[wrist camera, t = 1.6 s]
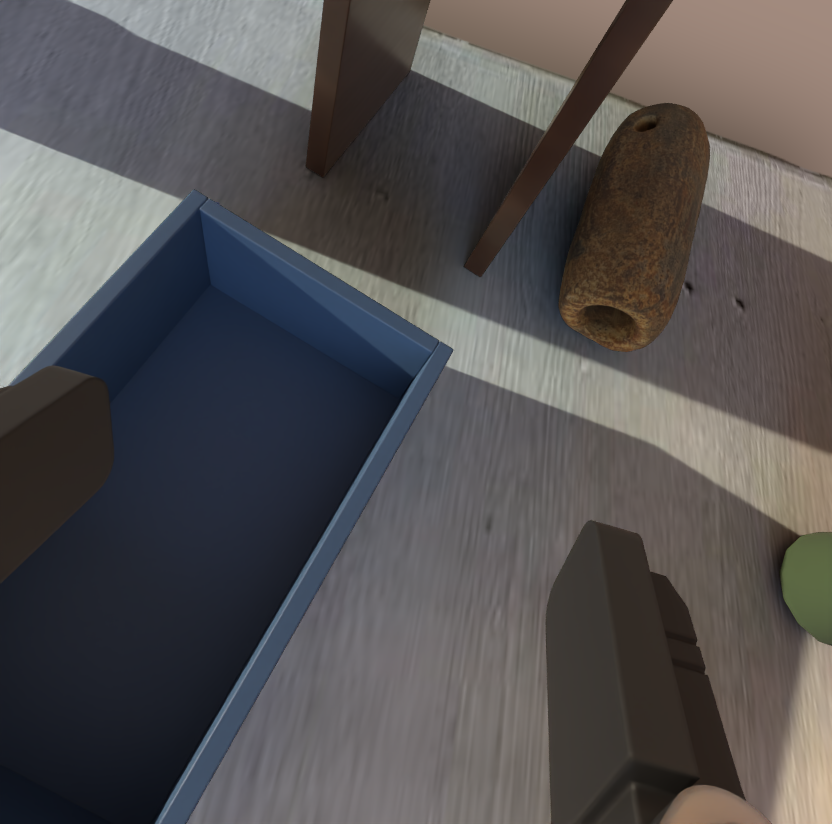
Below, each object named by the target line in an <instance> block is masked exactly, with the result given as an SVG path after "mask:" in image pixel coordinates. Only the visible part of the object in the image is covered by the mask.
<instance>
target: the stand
mask: <svg viewBox="0 0 832 824" xmlns="http://www.w3.org/2000/svg"><path fill="white" fill-rule="evenodd" d="M672 1H673V0H626V1H625V3H624V5H623V6H622V8H621V9H620V11H619V13H618V14H617V16H616V17H615V19H614V21H613V22H612V24H611V26H610V27H609V29H608V30H607V32H606V34H605V35H604V37H603V39H602V40H601V42H600V43H599V45H598V47H597V48H596V50H595V52H594V53H593V55H592V56H591V58H590V60H589V61H588V63H587V65H586V66H585V68H584V69H583V71H582V73H581V74H580V76H579V78H578V79H577V81H576V82H575V84H574V86H573V87H572V89H571V91H570V92H569V94H568V95H567V97H566V99H565V100H564V102H563V104H562V105H561V107H560V108H559V110H558V112H557V113H556V115H555V117H554V118H553V120H552V121H551V123H550V125H549V126H548V128H547V130H546V131H545V133H544V134H543V136H542V138H541V139H540V141H539V143H538V144H537V146H536V147H535V149H534V151H533V152H532V154H531V156H530V157H529V159H528V161H527V162H526V164H525V166H524V167H523V169H522V171H521V172H520V174H519V176H518V177H517V179H516V180H515V182H514V184H513V185H512V187H511V189H510V190H509V192H508V194H507V195H506V197H505V199H504V200H503V202H502V204H501V205H500V207H499V209H498V210H497V212H496V214H495V215H494V217H493V219H492V220H491V222H490V224H489V225H488V227H487V229H486V230H485V232H484V234H483V235H482V237H481V239H480V240H479V242H478V244H477V245H476V247H475V249H474V250H473V252H472V254H471V255H470V257H469V258H468V260H467V262H466V263H465V265H464V267H465V268H466V269H468V270H470V271H471V272H473V273H474V274H476V275H477V276H479V277H481V276H482V275H483V273H484V272H485V271H486V269H487V268H488V266H489V265H490V263H491V262H492V260H493V259H494V258H495V256H496V255H497V253H498V252H499V250H500V249H501V247H502V246H503V245H504V243H505V242H506V240H507V239H508V237H509V236H510V235H511V233H512V232H513V230H514V229H515V227H516V226H517V224H518V223H519V222H520V220H521V219H522V217H523V216H524V214H525V213H526V211H527V210H528V209H529V207H530V206H531V204H532V203H533V201H534V200H535V199H536V197H537V196H538V194H539V193H540V191H541V190H542V188H543V187H544V186H545V184H546V183H547V181H548V180H549V178H550V177H551V175H552V174H553V173H554V171H555V170H556V168H557V167H558V165H559V164H560V163H561V161H562V160H563V158H564V157H565V155H566V154H567V152H568V151H569V150H570V148H571V147H572V145H573V144H574V142H575V141H576V139H577V138H578V137H579V135H580V134H581V132H582V131H583V129H584V128H585V127H586V125H587V124H588V122H589V121H590V119H591V118H592V116H593V115H594V114H595V112H596V111H597V109H598V108H599V106H600V105H601V103H602V102H603V101H604V99H605V98H606V96H607V95H608V93H609V92H610V90H611V89H612V87H613V86H614V85H615V83H616V82H617V80H618V79H619V78H620V76H621V75H622V73H623V72H624V70H625V69H626V67H627V66H628V65H629V63H630V62H631V60H632V59H633V57H634V56H635V54H636V53H637V52H638V50H639V49H640V47H641V46H642V44H643V43H644V41H645V40H646V39H647V37H648V36H649V34H650V33H651V31H652V30H653V29H654V27H655V26H656V24H657V23H658V21H659V20H660V18H661V17H662V16H663V14H664V13H665V11H666V10H667V8H668V7H669V5H670V4H671V2H672ZM429 3H430V0H324V3H323V12H322V22H321V31H320V40H319V49H318V58H317V67H316V77H315V86H314V95H313V104H312V113H311V122H310V131H309V141H308V150H307V159H306V167H307V168H308V169H310V170H311V171H313V172H315V173H316V174H318V175H319V176H321V177H324V176H325V175H326V174H327V172H328V171H329V170H330V169H331V168H332V166H333V165H334V164H335V163H336V161H337V160H338V159H339V158H340V157H341V155H342V154H343V153H344V152H345V150H346V149H347V148H348V147H349V145H350V144H351V143H352V142H353V141H354V139H355V138H356V137H357V136H358V134H359V133H360V132H361V131H362V130H363V128H364V127H365V126H366V125H367V123H368V122H369V121H370V120H371V118H372V117H373V116H374V115H375V114H376V112H377V111H378V110H379V109H380V107H381V106H382V105H383V104H384V103H385V101H386V100H387V99H388V98H389V96H390V95H391V94H392V93H393V91H394V90H395V89H396V88H397V87H398V85H399V84H400V83H401V82H402V80H403V79H404V78H405V77H406V76H407V74H408V73H409V72H410V69H411V66H412V62H413V59H414V55H415V52H416V48H417V45H418V41H419V38H420V34H421V31H422V27H423V24H424V20H425V17H426V13H427V10H428V6H429Z"/></svg>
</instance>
